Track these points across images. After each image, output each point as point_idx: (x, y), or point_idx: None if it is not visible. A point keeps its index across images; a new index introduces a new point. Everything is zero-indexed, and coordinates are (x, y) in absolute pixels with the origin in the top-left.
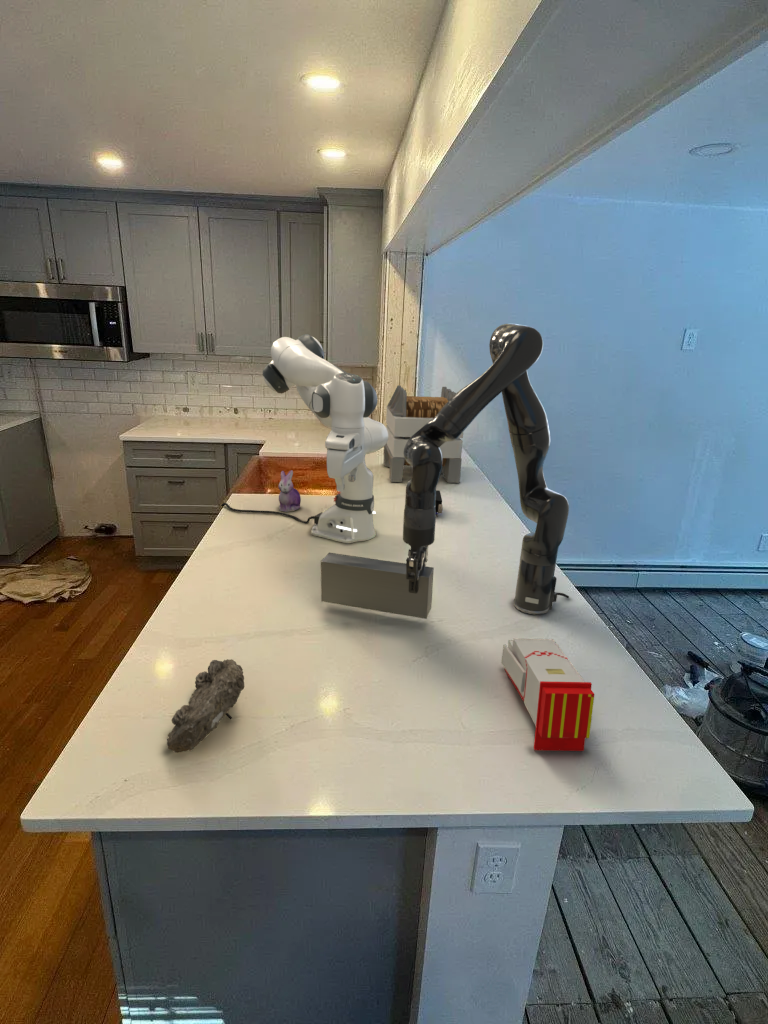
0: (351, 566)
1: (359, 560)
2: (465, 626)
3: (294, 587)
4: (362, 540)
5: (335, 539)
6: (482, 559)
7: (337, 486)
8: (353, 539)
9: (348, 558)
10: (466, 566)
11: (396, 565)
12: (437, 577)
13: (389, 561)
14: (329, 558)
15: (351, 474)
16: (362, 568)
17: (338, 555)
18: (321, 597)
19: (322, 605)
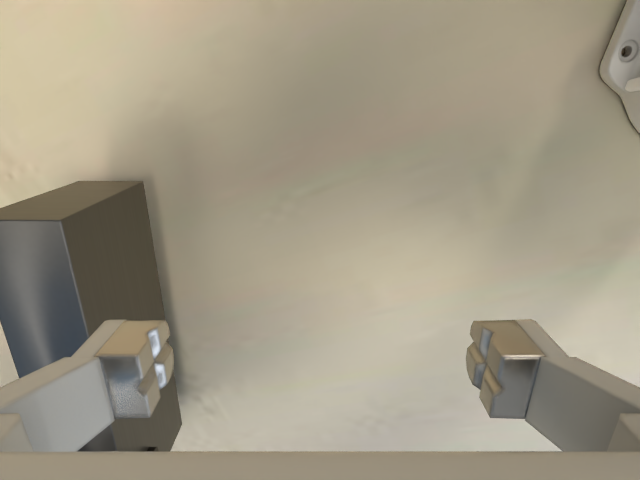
0: (5, 333)
1: (60, 346)
2: (210, 449)
3: (199, 26)
4: (630, 119)
5: (627, 9)
6: (540, 444)
7: (85, 352)
8: (623, 88)
9: (52, 308)
10: (490, 420)
11: (92, 450)
12: (408, 375)
13: (107, 428)
14: (10, 243)
15: (543, 382)
16: (17, 367)
17: (55, 265)
18: (70, 184)
19: (141, 158)
